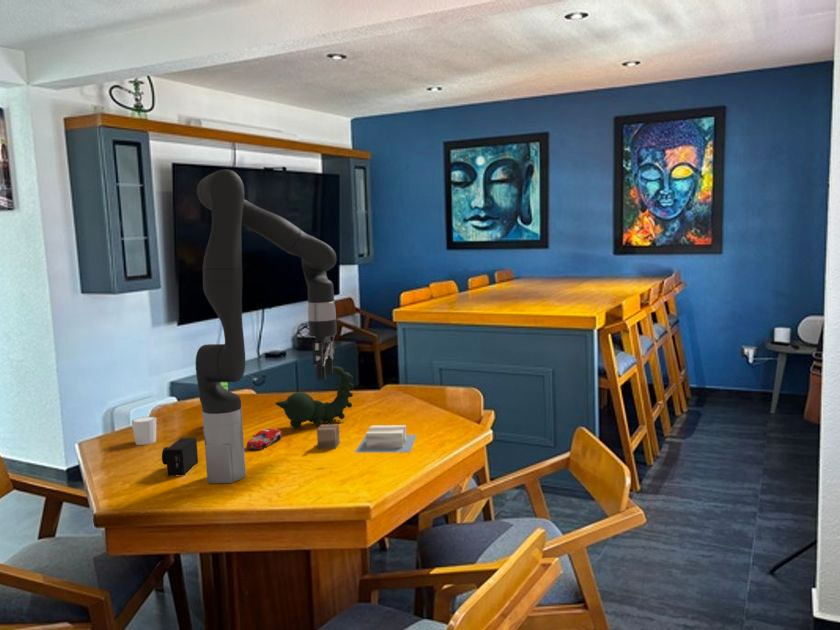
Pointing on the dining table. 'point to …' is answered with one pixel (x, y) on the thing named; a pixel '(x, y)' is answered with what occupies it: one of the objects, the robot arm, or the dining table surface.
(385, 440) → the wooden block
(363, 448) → the mat
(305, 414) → the toy figurine
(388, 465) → the dining table surface
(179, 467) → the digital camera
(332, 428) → the walnut block
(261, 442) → the race car
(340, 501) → the dining table surface
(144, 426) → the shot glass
